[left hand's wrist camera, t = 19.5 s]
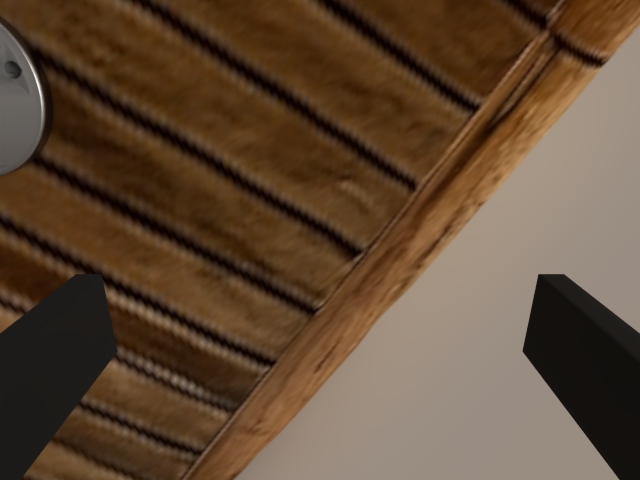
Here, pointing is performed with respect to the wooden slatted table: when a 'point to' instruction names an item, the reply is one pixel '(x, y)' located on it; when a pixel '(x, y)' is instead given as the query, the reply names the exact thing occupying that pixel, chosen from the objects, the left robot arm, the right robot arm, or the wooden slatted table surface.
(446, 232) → the wooden slatted table surface
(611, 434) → the left robot arm
